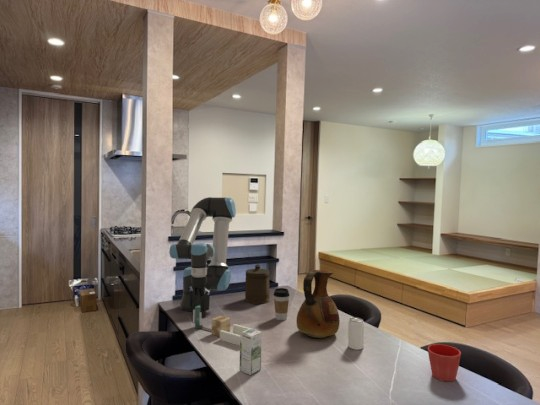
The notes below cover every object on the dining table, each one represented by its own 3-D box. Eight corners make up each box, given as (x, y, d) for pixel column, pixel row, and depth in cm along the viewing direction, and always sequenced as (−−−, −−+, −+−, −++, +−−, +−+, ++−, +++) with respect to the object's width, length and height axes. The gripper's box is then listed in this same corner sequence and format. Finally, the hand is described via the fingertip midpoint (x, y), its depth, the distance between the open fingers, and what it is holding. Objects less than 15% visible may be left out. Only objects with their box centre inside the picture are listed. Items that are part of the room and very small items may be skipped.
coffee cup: (289, 316, 194) (289, 288, 193) (288, 321, 185) (289, 292, 185) (274, 315, 195) (274, 287, 194) (272, 320, 186) (272, 291, 186)
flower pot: (421, 369, 136) (422, 344, 135) (449, 368, 137) (450, 343, 136) (436, 384, 125) (437, 356, 125) (467, 383, 126) (467, 355, 126)
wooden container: (265, 296, 231) (265, 261, 231) (272, 302, 217) (272, 266, 216) (242, 298, 227) (242, 263, 226) (248, 305, 212) (248, 267, 212)
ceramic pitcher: (347, 333, 170) (348, 270, 169) (322, 346, 155) (323, 277, 155) (313, 323, 184) (314, 264, 183) (287, 334, 169) (288, 270, 168)
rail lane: (219, 339, 162) (219, 330, 162) (234, 332, 170) (234, 323, 170) (244, 347, 154) (244, 337, 154) (258, 339, 163) (258, 330, 163)
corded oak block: (191, 328, 174) (191, 307, 174) (200, 324, 180) (200, 304, 179) (221, 337, 164) (222, 315, 164) (230, 332, 169) (230, 311, 169)
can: (364, 345, 157) (364, 317, 157) (363, 351, 151) (363, 322, 151) (349, 343, 159) (349, 316, 159) (347, 349, 153) (347, 320, 153)
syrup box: (249, 365, 138) (250, 327, 138) (261, 370, 134) (261, 331, 134) (239, 370, 134) (239, 331, 133) (251, 376, 130) (251, 335, 129)
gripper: (181, 274, 177) (181, 322, 177) (206, 279, 168) (206, 329, 168) (192, 272, 183) (192, 317, 184) (217, 276, 174) (217, 324, 175)
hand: (198, 323), depth 176 cm, fingers closed on corded oak block, 4 cm apart
